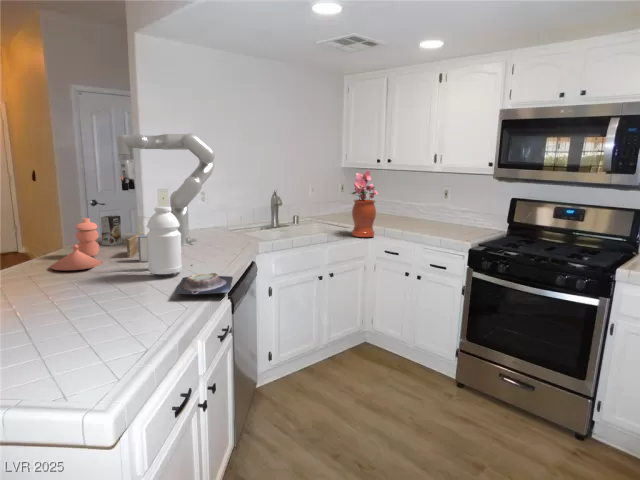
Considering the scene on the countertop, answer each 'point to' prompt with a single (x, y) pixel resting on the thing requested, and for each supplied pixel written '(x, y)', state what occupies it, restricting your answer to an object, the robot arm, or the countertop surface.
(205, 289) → the quiche
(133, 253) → the oak shelf
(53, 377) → the countertop surface
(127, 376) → the countertop surface
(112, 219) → the coffee box
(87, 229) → the ceramic vessels
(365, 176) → the potted flower
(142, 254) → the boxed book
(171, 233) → the bottle
